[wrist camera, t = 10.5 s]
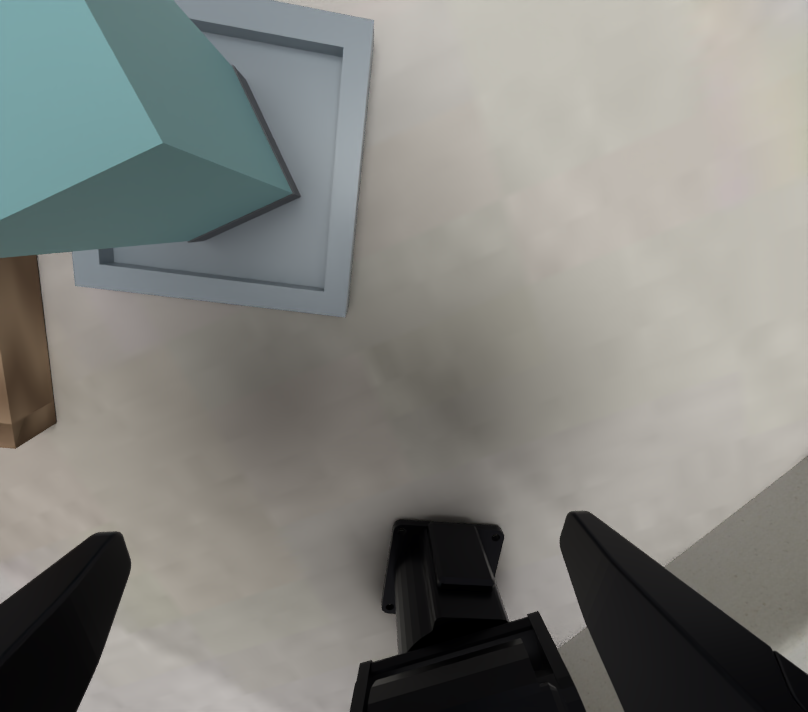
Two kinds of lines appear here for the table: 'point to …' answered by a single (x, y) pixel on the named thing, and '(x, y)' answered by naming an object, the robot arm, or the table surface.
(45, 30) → the tall teal block
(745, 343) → the table surface
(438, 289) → the table surface
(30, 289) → the slot rail
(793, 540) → the box
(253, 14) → the tray
